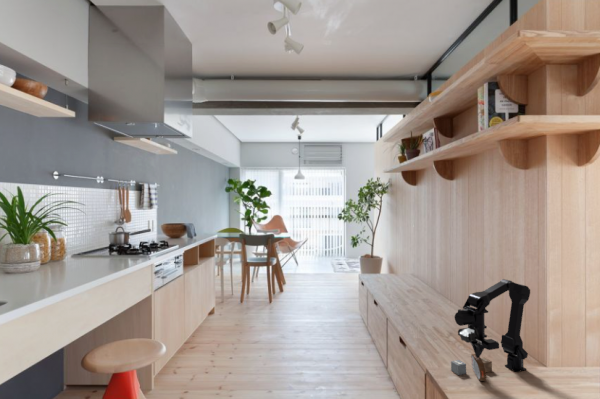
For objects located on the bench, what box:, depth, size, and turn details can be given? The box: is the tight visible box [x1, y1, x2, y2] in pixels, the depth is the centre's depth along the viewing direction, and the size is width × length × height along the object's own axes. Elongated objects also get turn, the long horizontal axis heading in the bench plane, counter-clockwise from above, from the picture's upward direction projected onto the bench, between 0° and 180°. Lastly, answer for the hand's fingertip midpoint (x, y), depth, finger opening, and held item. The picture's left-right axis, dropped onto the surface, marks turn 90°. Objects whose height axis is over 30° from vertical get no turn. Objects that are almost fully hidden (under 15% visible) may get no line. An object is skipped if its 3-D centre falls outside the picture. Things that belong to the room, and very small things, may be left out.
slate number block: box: [450, 359, 467, 376], centre depth 167 cm, size 4×4×5 cm
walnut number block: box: [480, 357, 493, 373], centre depth 169 cm, size 4×4×5 cm
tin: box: [470, 353, 487, 382], centre depth 163 cm, size 15×3×8 cm, turn 168°
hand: (477, 357), depth 163 cm, fingers closed
